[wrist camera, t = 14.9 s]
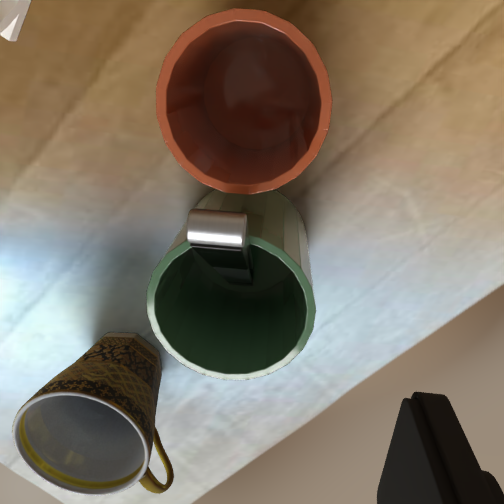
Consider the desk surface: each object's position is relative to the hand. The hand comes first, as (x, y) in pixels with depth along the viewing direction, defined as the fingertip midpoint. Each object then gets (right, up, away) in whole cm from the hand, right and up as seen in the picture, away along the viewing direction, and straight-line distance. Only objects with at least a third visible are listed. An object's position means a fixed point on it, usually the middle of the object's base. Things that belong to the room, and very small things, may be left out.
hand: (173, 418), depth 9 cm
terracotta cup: (+2, +14, +21) cm, 26 cm away
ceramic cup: (-9, -7, +32) cm, 34 cm away
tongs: (+1, +6, +25) cm, 25 cm away
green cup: (+1, +4, +26) cm, 26 cm away
